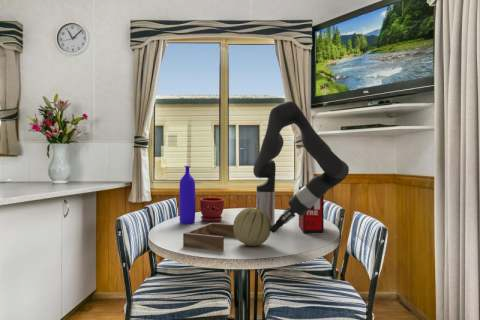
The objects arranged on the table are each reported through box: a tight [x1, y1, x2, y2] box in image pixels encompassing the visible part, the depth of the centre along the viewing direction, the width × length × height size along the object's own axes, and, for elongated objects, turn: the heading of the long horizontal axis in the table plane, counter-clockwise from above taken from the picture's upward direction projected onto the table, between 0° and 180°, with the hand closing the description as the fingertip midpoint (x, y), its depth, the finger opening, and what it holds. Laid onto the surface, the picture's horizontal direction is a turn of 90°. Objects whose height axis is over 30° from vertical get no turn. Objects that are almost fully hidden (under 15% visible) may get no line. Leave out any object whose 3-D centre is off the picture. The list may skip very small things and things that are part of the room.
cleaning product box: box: [298, 186, 325, 235], centre depth 158 cm, size 16×9×20 cm, turn 178°
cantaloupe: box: [233, 205, 272, 247], centre depth 129 cm, size 15×15×15 cm
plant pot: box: [199, 197, 225, 223], centre depth 182 cm, size 13×13×12 cm
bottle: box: [178, 165, 196, 225], centre depth 175 cm, size 8×8×30 cm
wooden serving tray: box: [182, 222, 236, 252], centre depth 135 cm, size 23×17×5 cm
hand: (271, 231), depth 126 cm, fingers closed
